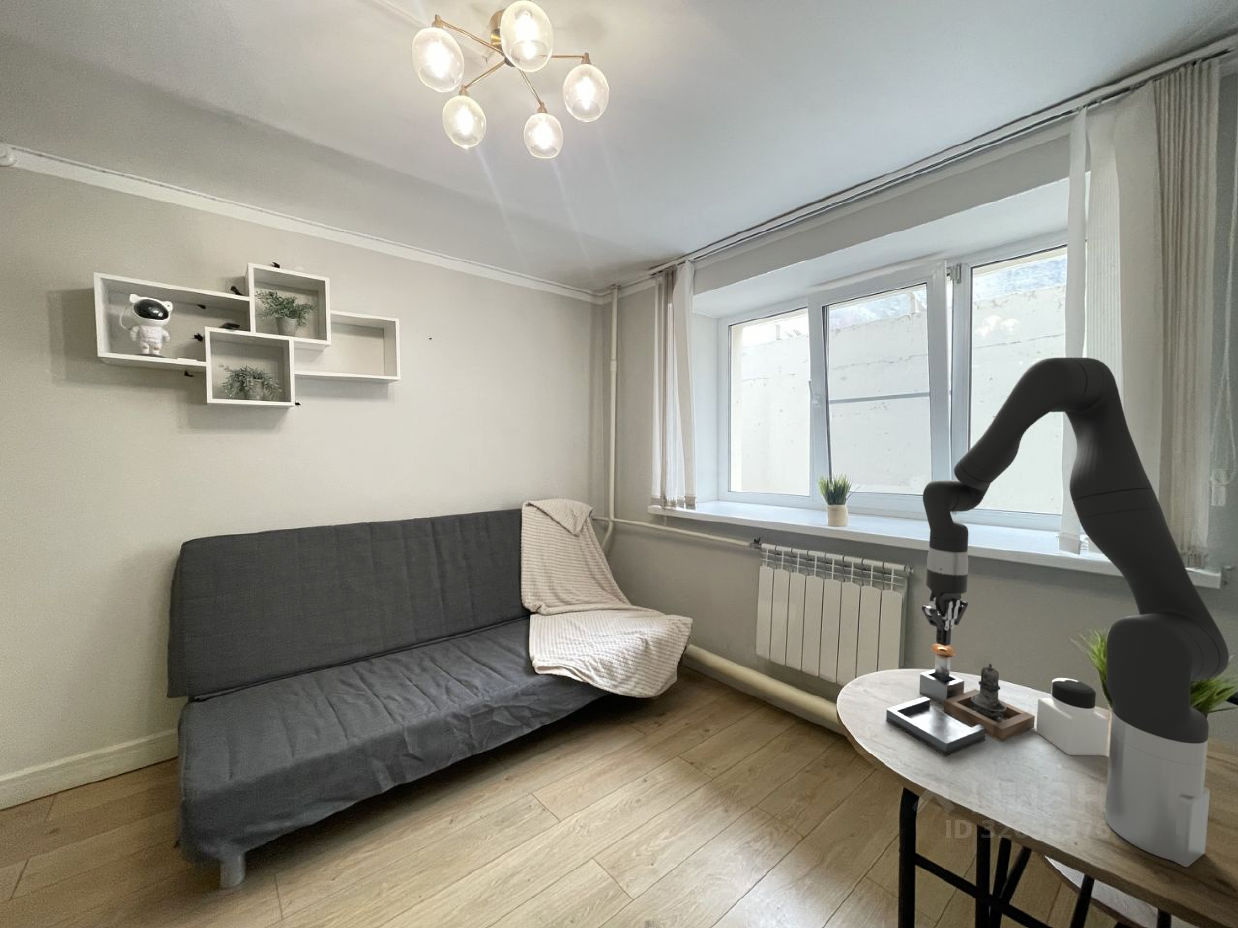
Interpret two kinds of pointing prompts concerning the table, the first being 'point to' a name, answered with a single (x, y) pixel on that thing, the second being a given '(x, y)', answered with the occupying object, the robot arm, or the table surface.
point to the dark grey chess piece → (989, 695)
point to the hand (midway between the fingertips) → (943, 643)
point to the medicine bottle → (1072, 719)
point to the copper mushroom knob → (942, 661)
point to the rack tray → (934, 727)
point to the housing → (940, 686)
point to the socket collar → (1002, 731)
